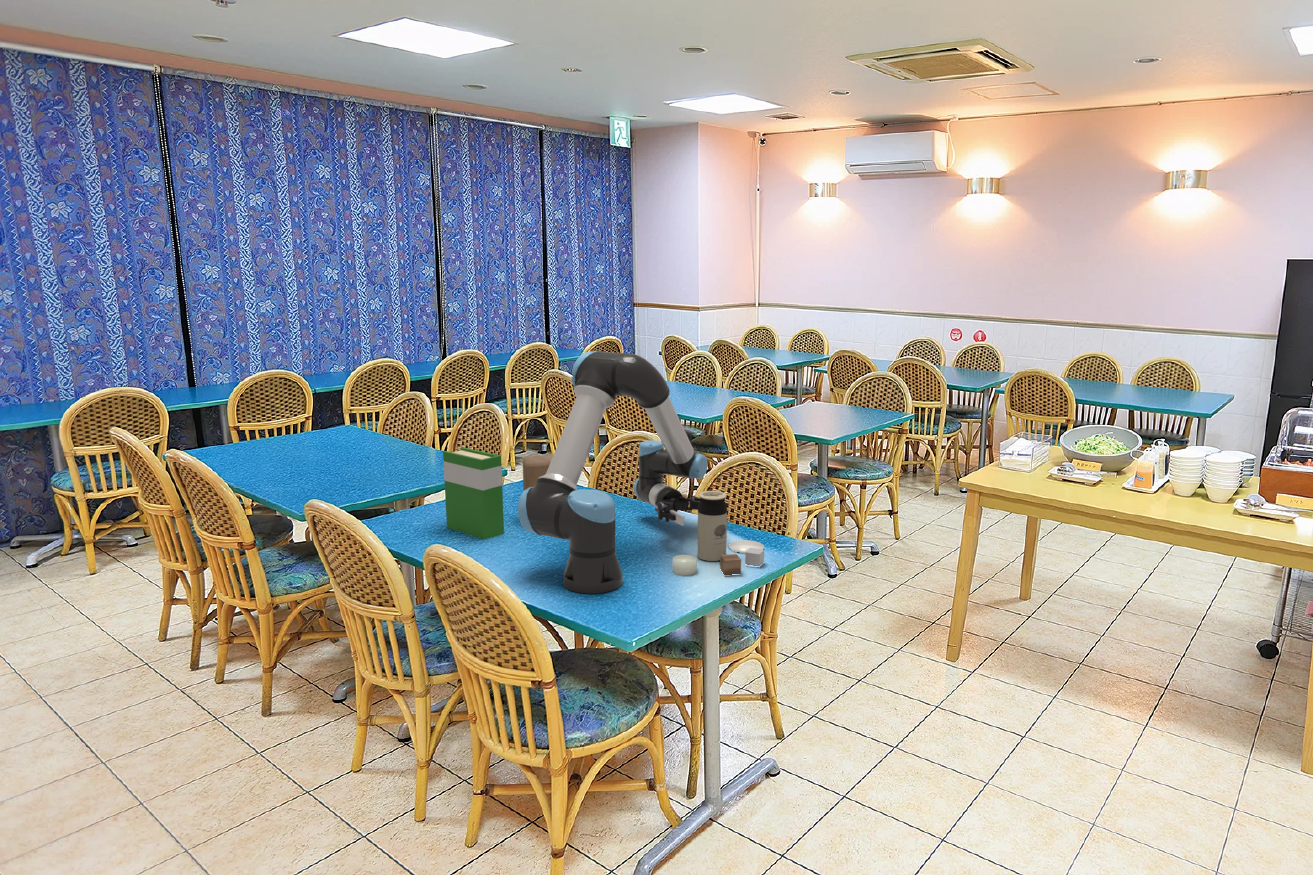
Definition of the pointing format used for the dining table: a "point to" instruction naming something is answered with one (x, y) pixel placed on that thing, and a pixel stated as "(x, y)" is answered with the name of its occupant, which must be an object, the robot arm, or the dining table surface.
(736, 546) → the saucer
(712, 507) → the travel mug
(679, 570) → the beige rounded cylinder
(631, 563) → the dining table surface
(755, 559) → the grey cube
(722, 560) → the walnut block
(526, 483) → the block
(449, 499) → the hardback book
